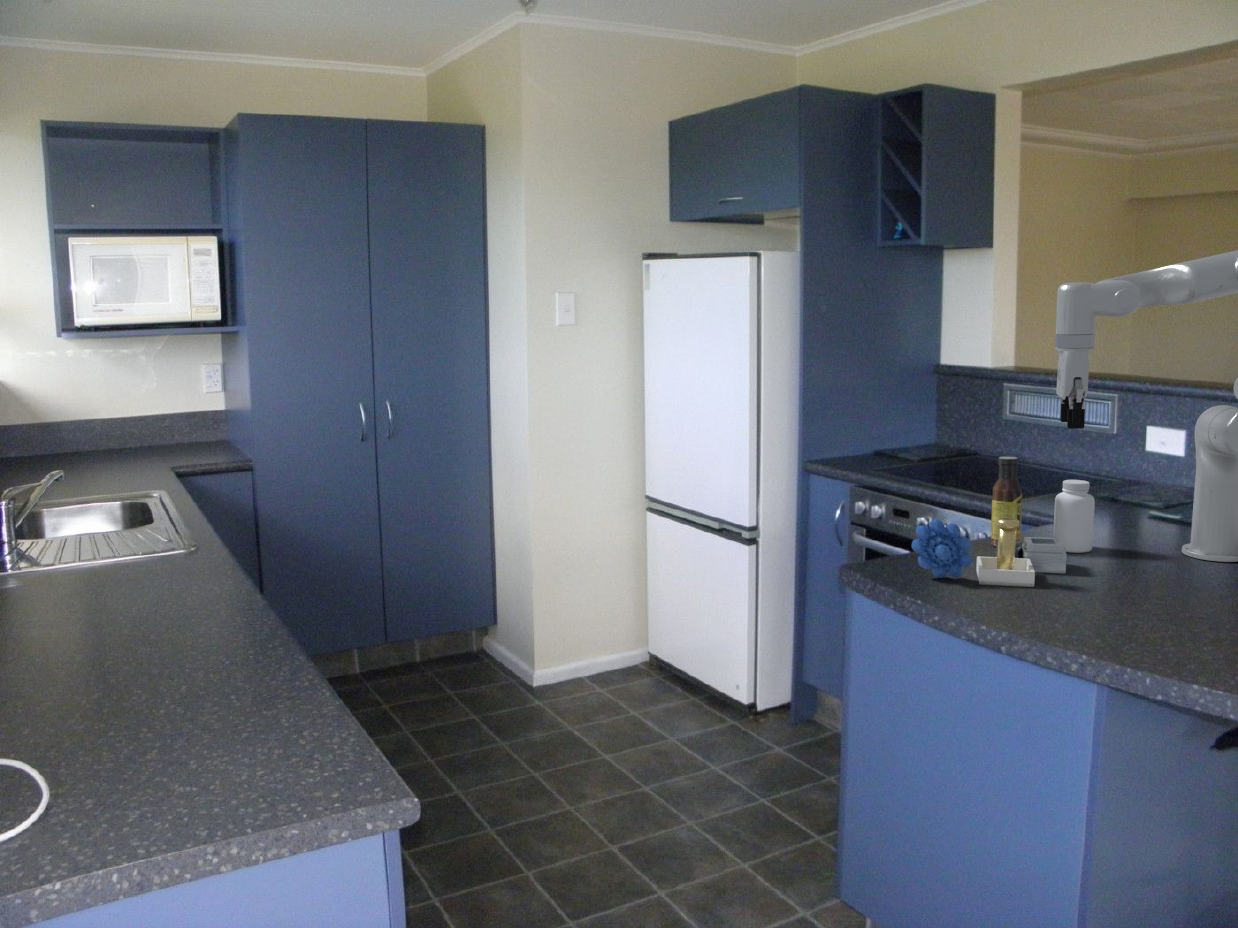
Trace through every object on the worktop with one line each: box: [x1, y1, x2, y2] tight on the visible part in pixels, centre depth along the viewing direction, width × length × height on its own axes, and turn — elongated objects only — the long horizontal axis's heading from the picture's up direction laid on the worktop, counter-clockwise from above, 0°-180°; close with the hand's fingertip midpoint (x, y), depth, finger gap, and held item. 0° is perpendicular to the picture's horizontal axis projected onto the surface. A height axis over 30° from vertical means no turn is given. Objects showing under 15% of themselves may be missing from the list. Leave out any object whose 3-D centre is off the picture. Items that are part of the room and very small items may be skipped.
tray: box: [975, 555, 1036, 588], centre depth 208 cm, size 10×10×3 cm
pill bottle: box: [1052, 479, 1096, 554], centre depth 229 cm, size 8×8×15 cm
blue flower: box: [911, 518, 974, 579], centre depth 208 cm, size 12×7×12 cm, turn 77°
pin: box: [997, 518, 1019, 570], centre depth 207 cm, size 4×4×11 cm
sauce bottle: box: [990, 456, 1023, 548], centre depth 232 cm, size 6×6×20 cm
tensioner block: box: [995, 536, 1067, 575], centre depth 216 cm, size 13×8×6 cm, turn 74°
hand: (1071, 425), depth 220 cm, fingers open, 9 cm apart
